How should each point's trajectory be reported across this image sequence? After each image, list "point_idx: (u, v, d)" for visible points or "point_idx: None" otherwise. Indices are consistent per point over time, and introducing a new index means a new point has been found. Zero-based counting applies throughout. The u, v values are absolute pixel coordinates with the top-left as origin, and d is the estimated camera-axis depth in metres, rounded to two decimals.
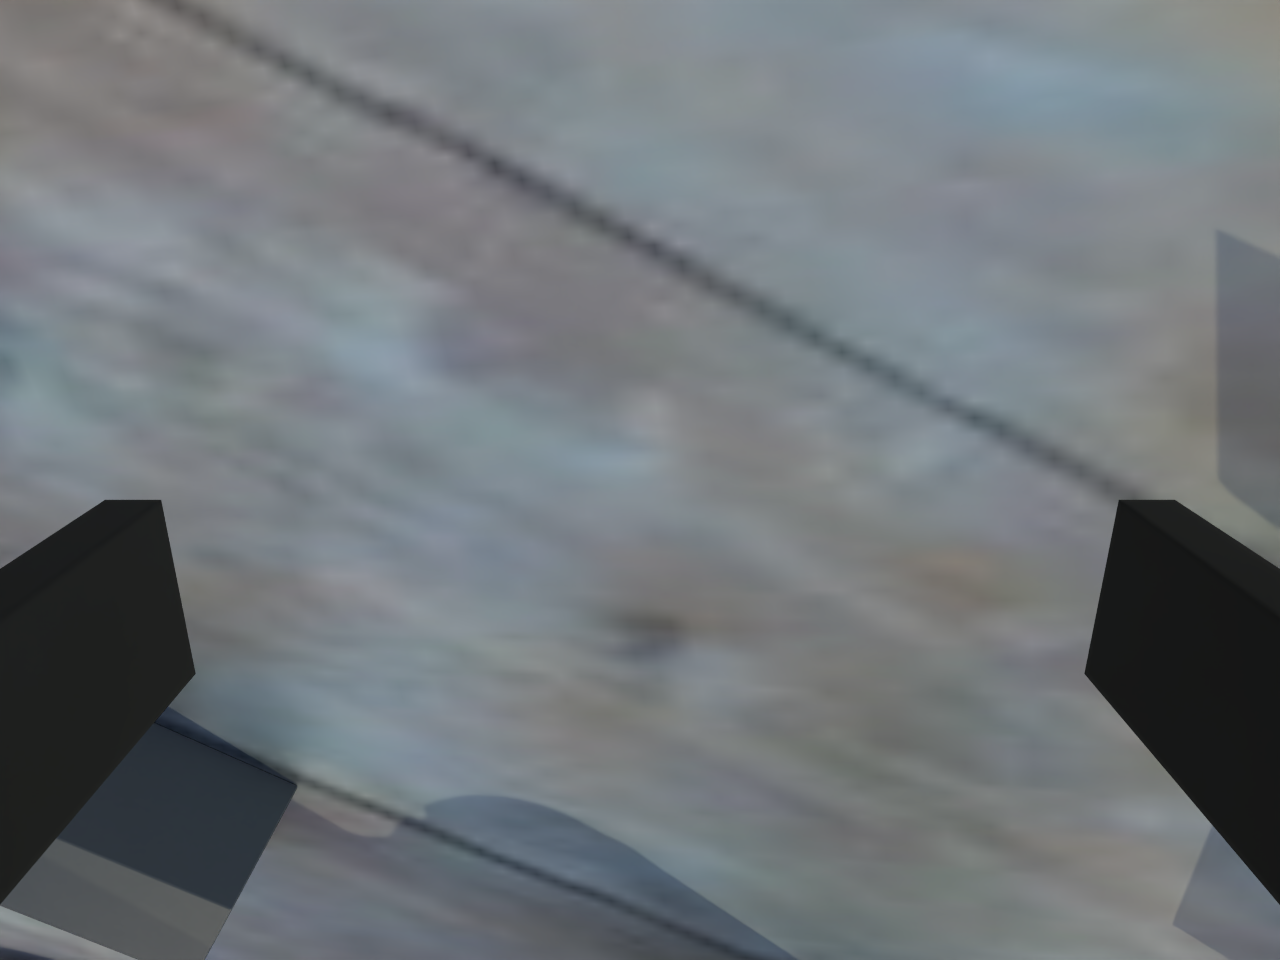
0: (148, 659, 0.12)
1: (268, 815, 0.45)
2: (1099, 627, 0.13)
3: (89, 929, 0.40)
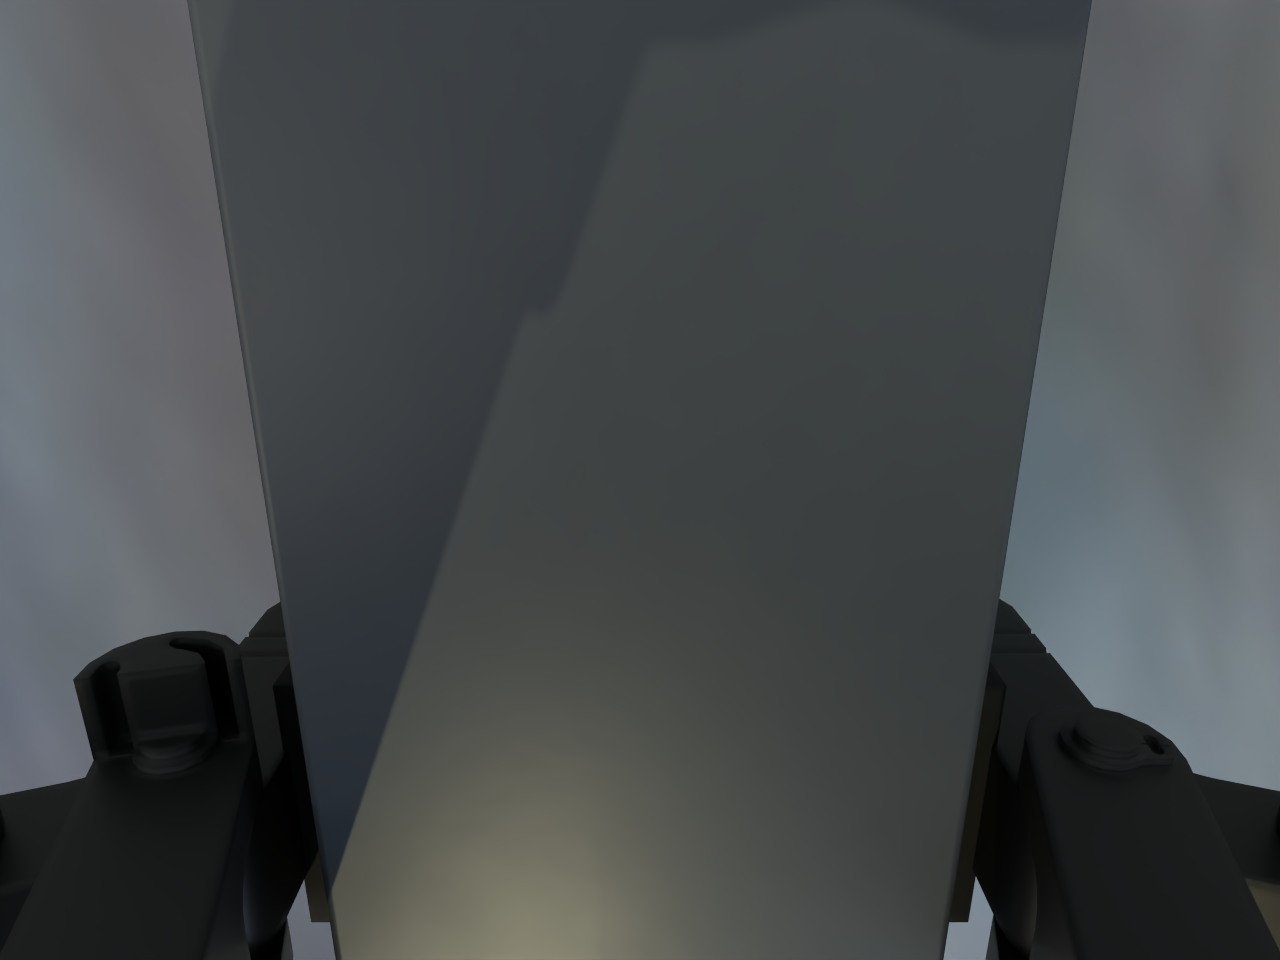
0: None
1: None
2: None
3: (396, 793, 0.07)
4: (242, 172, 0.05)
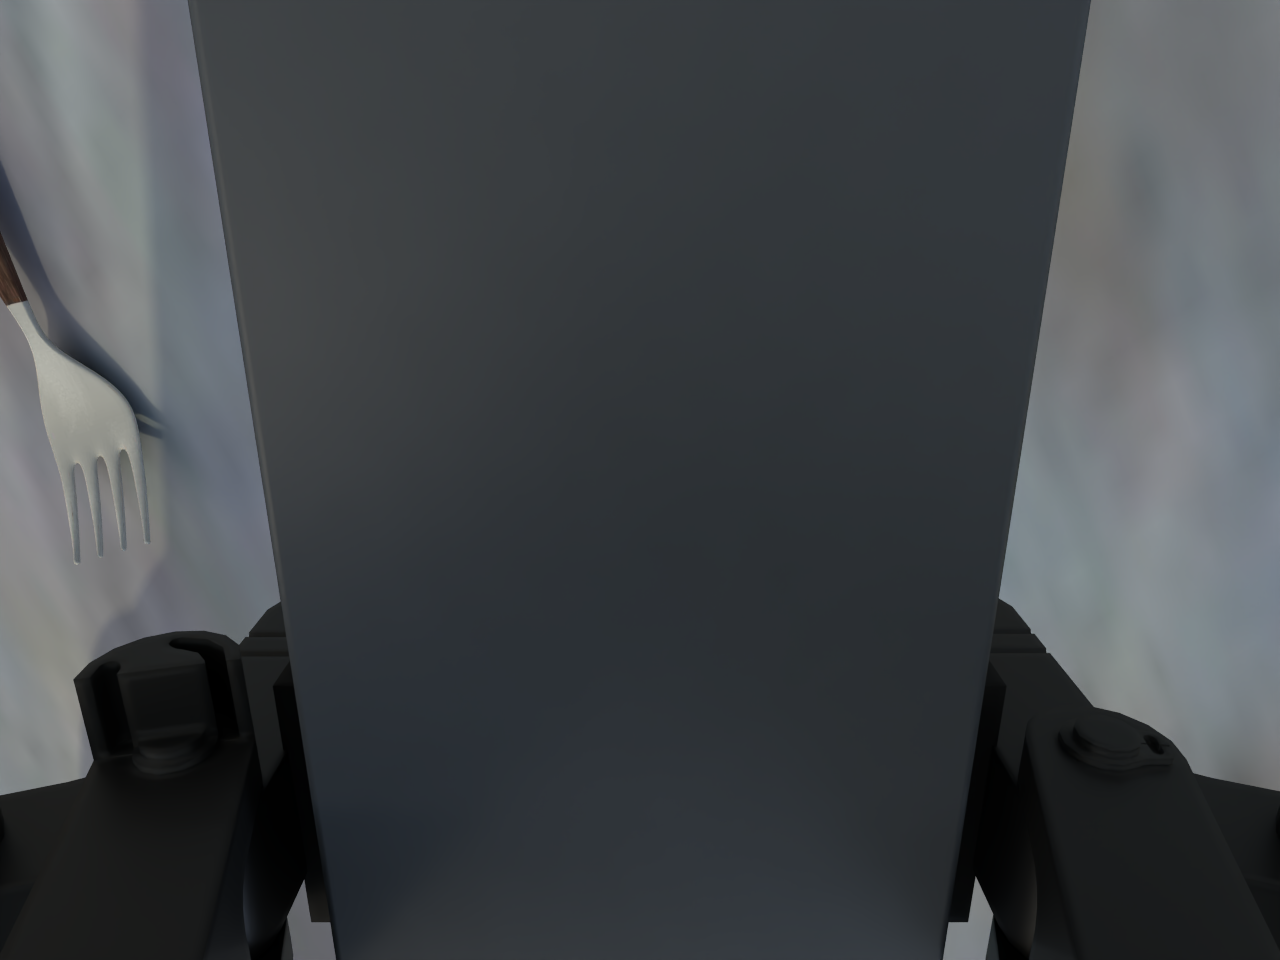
0: None
1: None
2: None
3: (397, 789, 0.07)
4: (242, 168, 0.05)
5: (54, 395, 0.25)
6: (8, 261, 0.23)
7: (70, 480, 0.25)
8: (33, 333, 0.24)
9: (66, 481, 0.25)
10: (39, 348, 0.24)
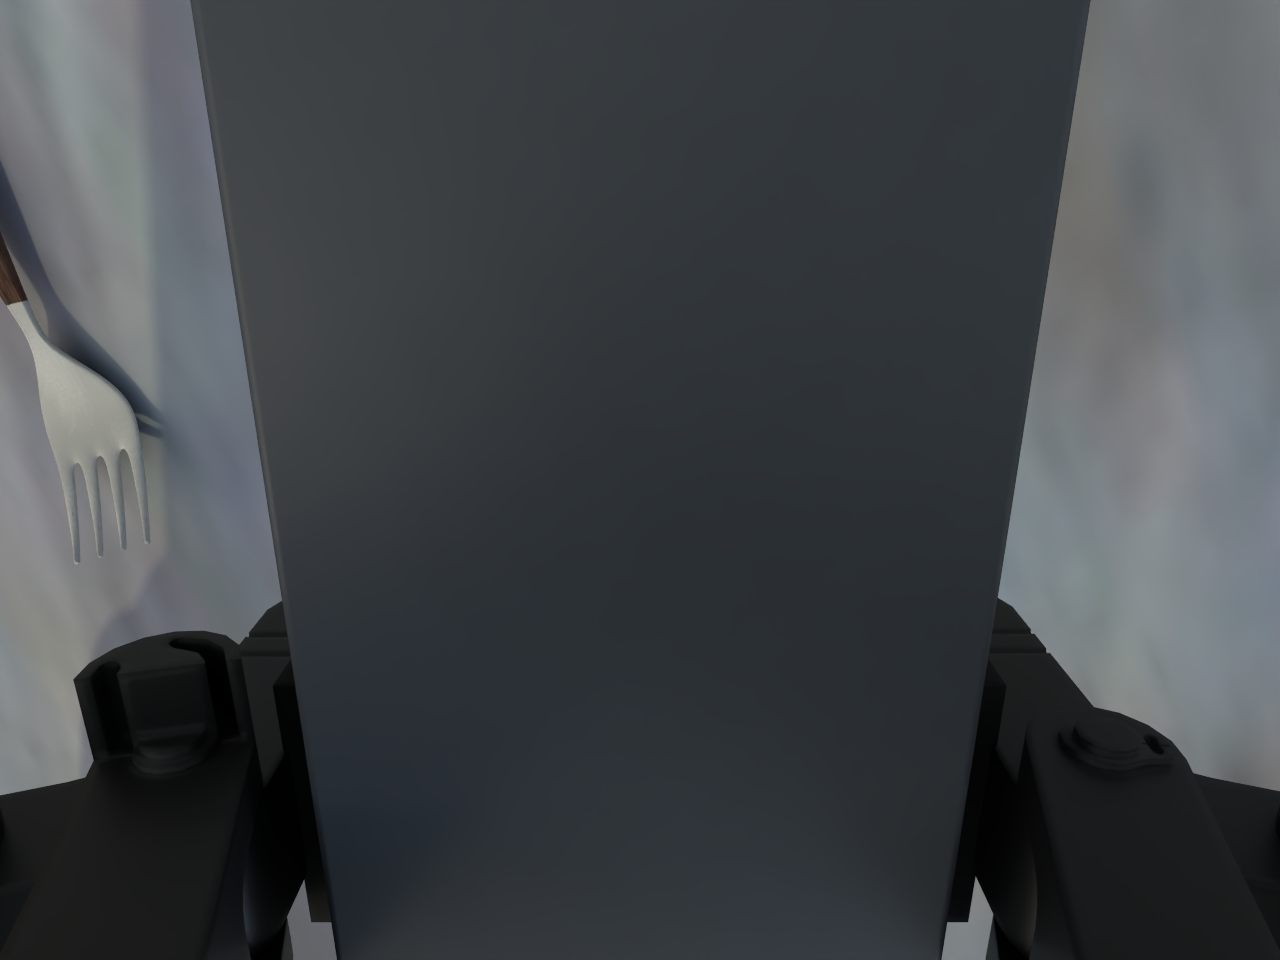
0: None
1: None
2: None
3: (397, 787, 0.07)
4: (244, 166, 0.05)
5: (54, 395, 0.25)
6: (8, 261, 0.23)
7: (70, 480, 0.25)
8: (32, 333, 0.24)
9: (66, 481, 0.25)
10: (39, 348, 0.24)
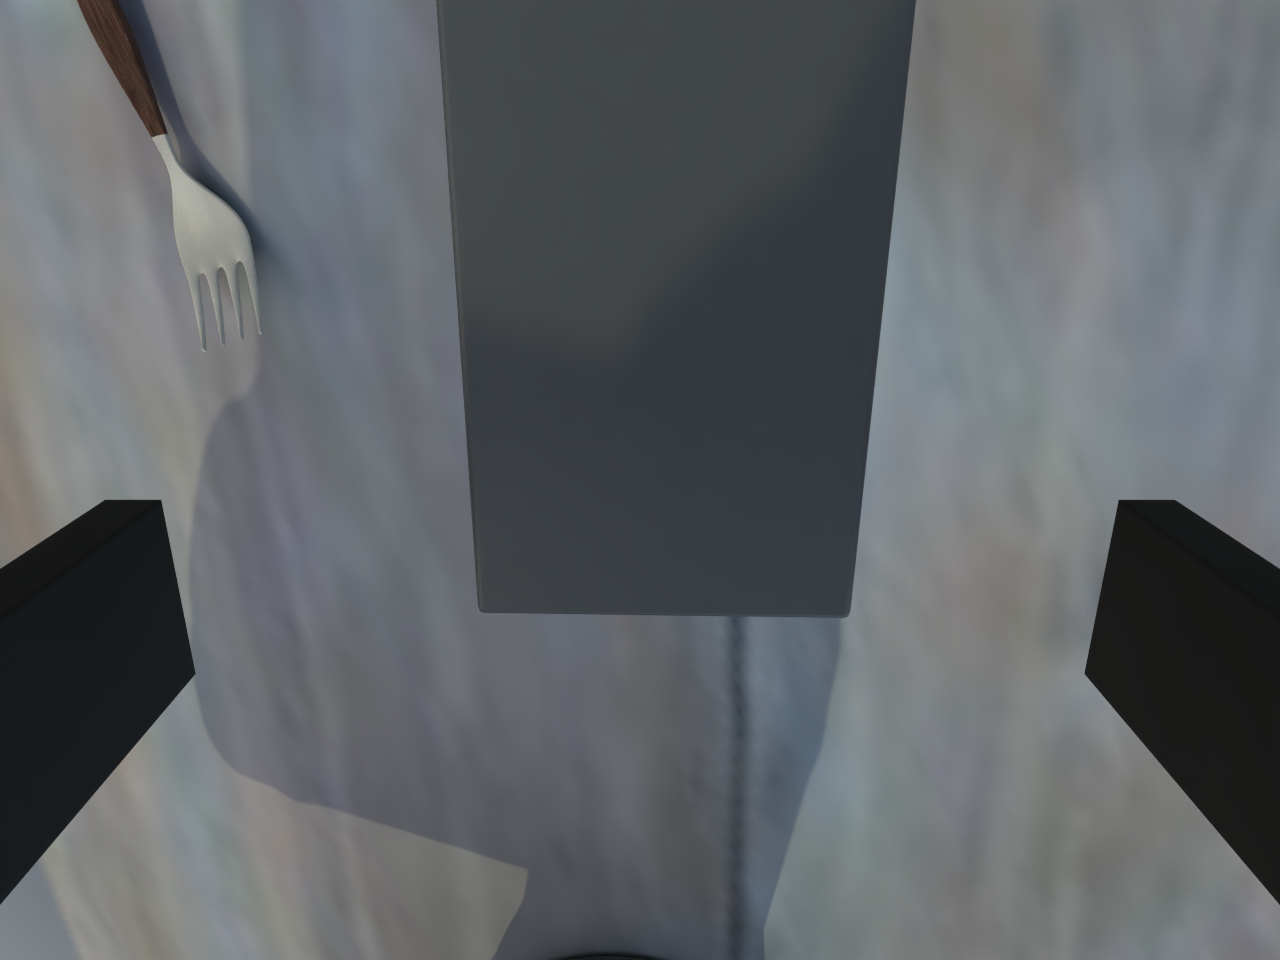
0: (148, 659, 0.12)
1: None
2: (1099, 627, 0.13)
3: (510, 218, 0.10)
4: None
5: (185, 215, 0.31)
6: (154, 100, 0.29)
7: (197, 286, 0.31)
8: (171, 161, 0.30)
9: (194, 286, 0.31)
10: (176, 174, 0.30)
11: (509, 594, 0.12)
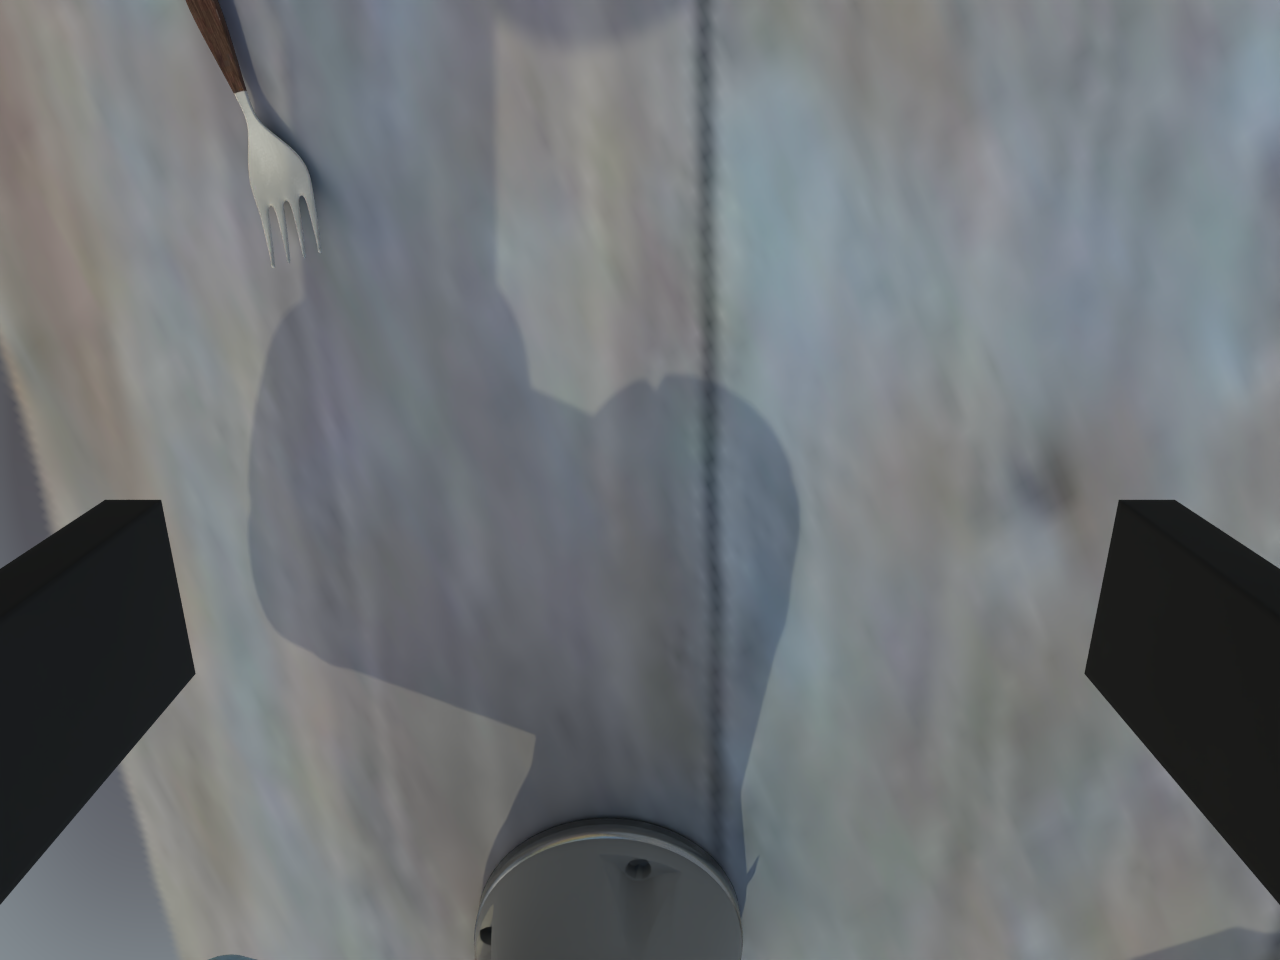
0: (148, 659, 0.12)
1: None
2: (1099, 627, 0.13)
3: None
4: None
5: (258, 158, 0.38)
6: (237, 63, 0.36)
7: (266, 216, 0.38)
8: (249, 113, 0.37)
9: (264, 216, 0.38)
10: (252, 123, 0.37)
11: None
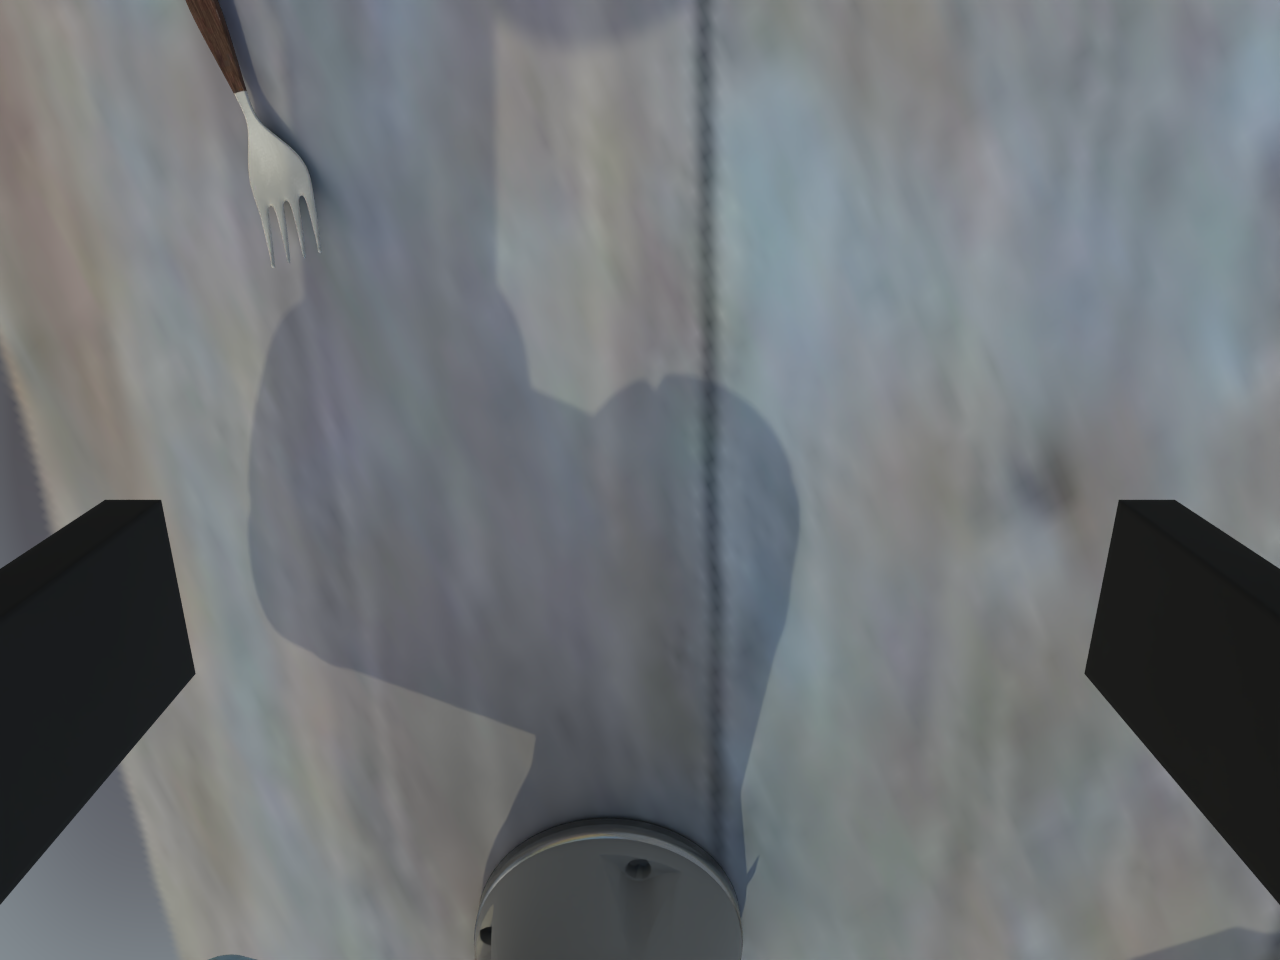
0: (148, 659, 0.12)
1: None
2: (1099, 627, 0.13)
3: None
4: None
5: (258, 158, 0.38)
6: (237, 63, 0.36)
7: (266, 216, 0.38)
8: (249, 113, 0.37)
9: (264, 216, 0.38)
10: (252, 123, 0.37)
11: None
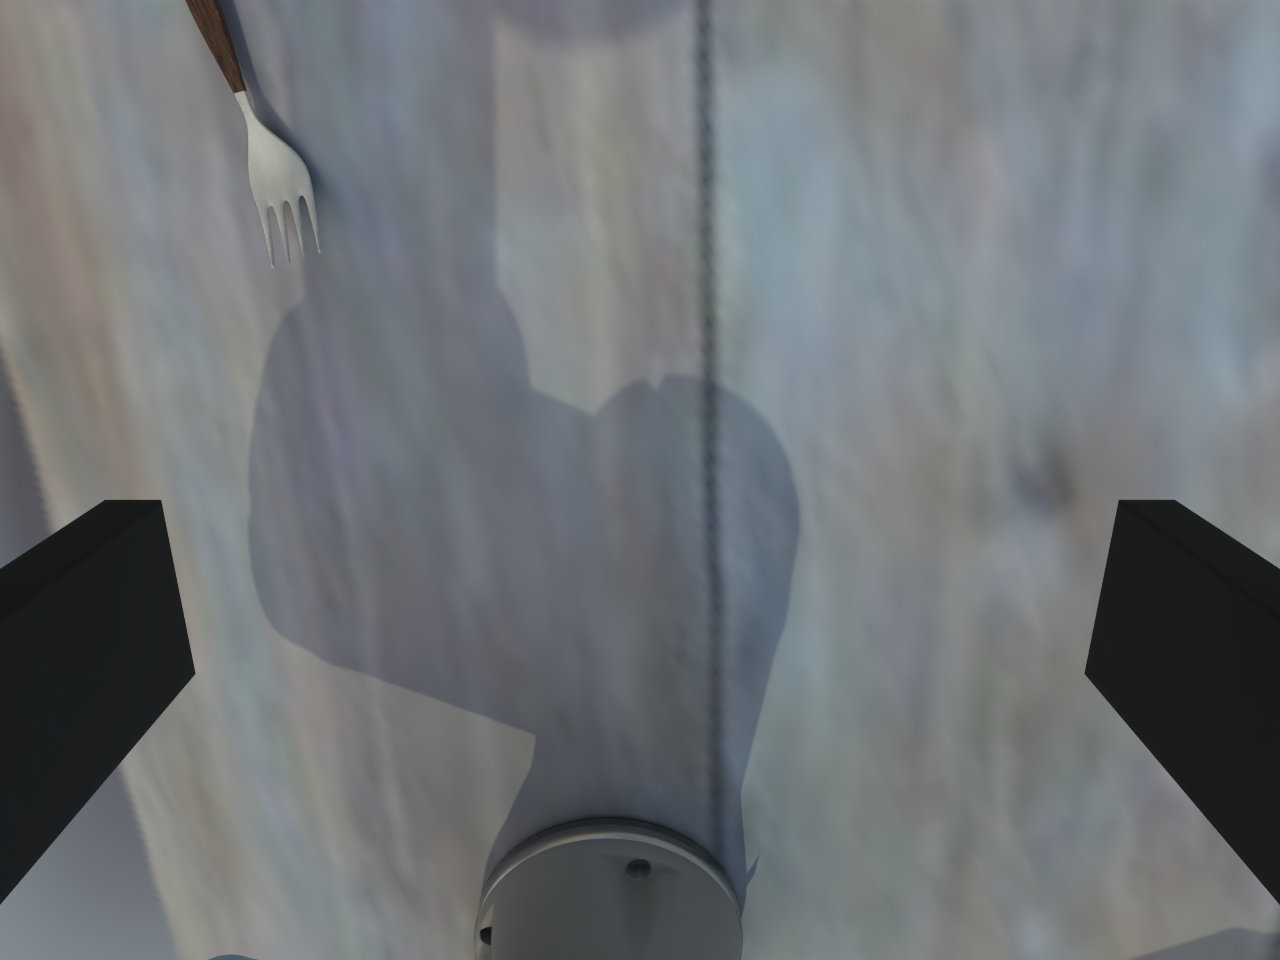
0: (148, 659, 0.12)
1: None
2: (1099, 627, 0.13)
3: None
4: None
5: (258, 158, 0.38)
6: (237, 63, 0.36)
7: (266, 216, 0.38)
8: (249, 113, 0.37)
9: (264, 216, 0.38)
10: (252, 123, 0.37)
11: None
